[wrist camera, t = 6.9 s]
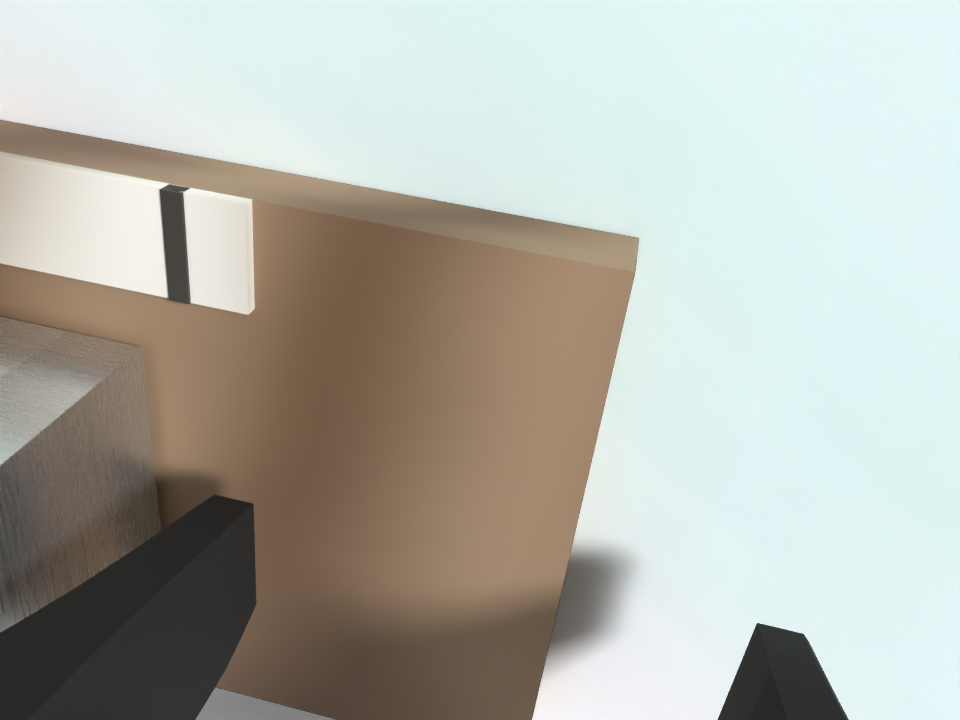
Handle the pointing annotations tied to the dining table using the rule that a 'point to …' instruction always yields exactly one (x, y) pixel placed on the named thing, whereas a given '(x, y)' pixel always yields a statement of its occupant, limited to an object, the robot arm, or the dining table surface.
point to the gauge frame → (343, 402)
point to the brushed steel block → (69, 462)
